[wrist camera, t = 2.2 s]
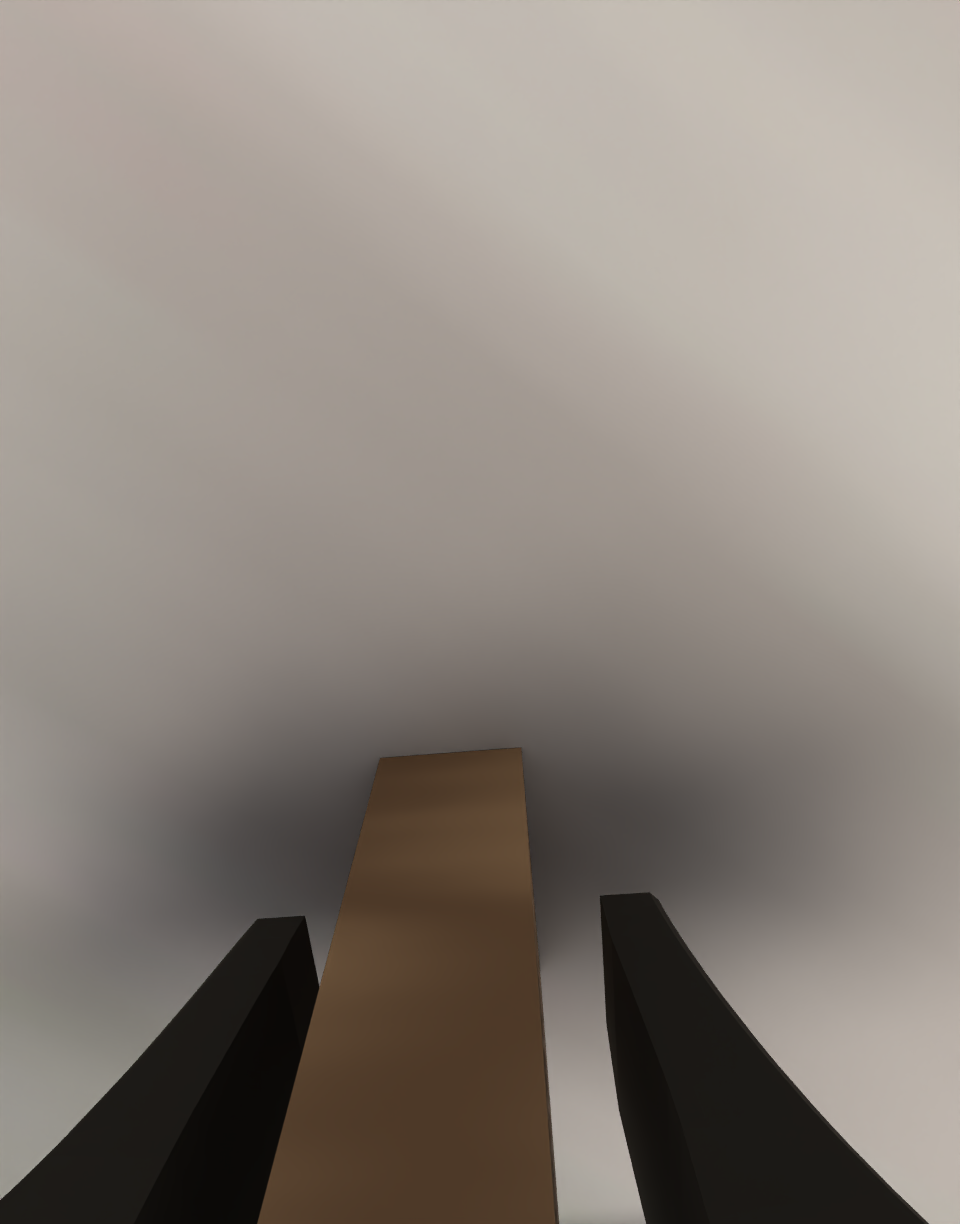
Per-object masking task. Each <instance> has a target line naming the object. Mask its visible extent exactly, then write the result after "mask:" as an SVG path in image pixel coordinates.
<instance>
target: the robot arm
mask: <svg viewBox="0 0 960 1224" xmlns="http://www.w3.org/2000/svg"><path fill="white" fill-rule="evenodd" d="M600 905H601V925H602V945H603V965H604V984H605V1004H606V1023H607V1030H608V1037H609V1044H610V1051H611V1058H612V1065H613V1072H614V1079H615V1086H616V1093H617V1099H618V1106H619V1112H620V1116H621V1120H622V1125H623V1129H624V1133H625V1137H626V1142H627V1146H628V1150H629V1154H630V1158H631V1162H632V1167H633V1171H634V1175H635V1179H636V1183H637V1187H638V1192H639V1196H640V1200H641V1204H642V1208H643V1212H644V1216H645V1221H646V1224H929V1223H928V1222H927V1221H926V1220H925V1219H923V1218H922V1217H921V1216H920V1215H919V1214H918V1213H917V1212H916V1211H915V1210H914V1209H913V1208H912V1207H911V1206H910V1205H909V1204H908V1203H907V1202H906V1201H905V1200H904V1199H903V1198H902V1197H901V1196H900V1195H899V1194H897V1193H896V1192H895V1191H894V1190H893V1189H892V1188H891V1187H890V1186H889V1185H888V1184H887V1183H886V1182H885V1181H884V1179H883V1178H882V1177H881V1176H880V1175H879V1174H878V1173H877V1172H876V1171H875V1170H874V1169H873V1168H872V1167H871V1166H870V1165H869V1164H868V1163H867V1162H866V1161H865V1160H864V1159H863V1158H862V1157H861V1156H860V1155H859V1154H858V1153H857V1152H856V1151H855V1150H854V1149H853V1148H852V1147H851V1146H850V1145H849V1144H848V1143H847V1142H846V1141H845V1139H844V1138H843V1137H842V1136H841V1135H840V1134H839V1133H838V1132H837V1131H836V1130H835V1129H834V1128H833V1127H832V1126H831V1125H830V1123H829V1122H828V1121H827V1120H826V1119H825V1118H824V1117H823V1116H822V1115H821V1114H820V1112H819V1111H818V1110H817V1109H816V1108H815V1107H814V1106H813V1105H812V1104H811V1103H810V1101H809V1100H808V1099H807V1098H806V1097H805V1096H804V1094H803V1093H802V1092H801V1091H800V1090H799V1089H798V1088H797V1086H796V1085H795V1084H794V1083H793V1082H792V1081H791V1080H790V1078H789V1077H788V1076H787V1075H786V1074H785V1073H784V1072H783V1070H782V1069H781V1068H780V1067H779V1066H778V1065H777V1063H776V1062H775V1061H774V1060H773V1059H772V1057H771V1056H770V1055H769V1054H768V1053H767V1051H766V1050H765V1049H764V1048H763V1046H762V1045H761V1044H760V1043H759V1042H758V1040H757V1039H756V1038H755V1037H754V1035H753V1034H752V1033H751V1032H750V1030H749V1029H748V1028H747V1026H746V1025H745V1024H744V1023H743V1021H742V1020H741V1019H740V1017H739V1016H738V1015H737V1014H736V1012H735V1011H734V1010H733V1009H732V1007H731V1006H730V1005H729V1003H728V1002H727V1001H726V1000H725V998H724V997H723V996H722V994H721V993H720V992H719V990H718V989H717V988H716V986H715V985H714V984H713V982H712V981H711V980H710V978H709V977H708V975H707V974H706V973H705V971H704V970H703V968H702V967H701V965H700V964H699V963H698V961H697V960H696V958H695V957H694V955H693V954H692V953H691V951H690V950H689V948H688V947H687V945H686V944H685V942H684V941H683V939H682V938H681V936H680V935H679V933H678V932H677V930H676V929H675V927H674V925H673V924H672V922H671V921H670V919H669V917H668V916H667V914H666V912H665V911H664V909H663V907H662V905H661V904H660V902H659V900H658V899H657V898H656V897H654V896H653V895H652V894H651V893H650V892H649V893H634V894H620V895H605V896H600ZM318 991H319V983H318V978H317V973H316V968H315V963H314V958H313V953H312V948H311V943H310V938H309V933H308V928H307V924H306V919H305V916H294V917H279V918H265V919H257V920H256V921H255V923H254V924H253V925H252V926H251V927H250V928H249V929H248V930H247V932H246V933H245V934H244V935H243V936H242V937H241V939H240V940H239V941H238V942H237V943H236V944H235V946H234V947H233V948H232V949H231V950H230V952H229V953H228V954H227V955H226V956H225V958H224V959H223V960H222V961H221V962H220V964H219V965H218V966H217V967H216V969H215V970H214V971H213V972H212V973H211V975H210V976H209V977H208V978H207V979H206V981H205V982H204V983H203V984H202V985H201V986H200V988H199V989H198V990H197V991H196V992H195V994H194V995H193V996H192V997H191V998H190V1000H189V1001H188V1002H187V1003H186V1004H185V1006H184V1007H183V1008H182V1009H181V1010H180V1011H179V1013H178V1014H177V1015H176V1016H175V1017H174V1018H173V1019H172V1021H171V1022H170V1023H169V1024H168V1025H167V1026H166V1027H165V1029H164V1030H163V1031H162V1032H161V1033H160V1034H159V1036H158V1037H157V1038H156V1039H155V1040H154V1041H153V1042H152V1044H151V1045H150V1046H149V1047H148V1048H147V1049H146V1050H145V1052H144V1053H143V1054H142V1055H141V1056H140V1057H139V1058H138V1060H137V1061H136V1062H135V1063H134V1064H133V1065H132V1066H131V1067H130V1069H129V1070H128V1071H127V1072H126V1073H125V1074H124V1075H123V1076H122V1077H121V1078H120V1079H119V1080H118V1082H117V1083H116V1084H115V1085H114V1086H113V1087H112V1088H111V1089H110V1090H109V1091H108V1092H107V1093H106V1094H105V1095H104V1096H103V1097H102V1099H101V1100H100V1101H99V1102H98V1103H97V1104H96V1105H95V1106H94V1107H93V1108H92V1109H91V1110H90V1111H89V1112H88V1113H87V1114H86V1116H85V1117H84V1118H83V1119H82V1120H81V1121H80V1122H79V1123H78V1124H77V1125H76V1126H75V1127H74V1128H73V1129H72V1130H71V1131H70V1132H69V1134H68V1135H67V1136H66V1137H65V1138H64V1139H63V1140H62V1141H61V1142H60V1143H59V1144H58V1145H57V1146H56V1147H55V1148H54V1149H53V1150H52V1151H51V1152H50V1153H49V1154H48V1155H47V1156H46V1157H45V1158H44V1159H43V1160H42V1161H41V1162H40V1163H39V1164H38V1165H37V1166H36V1167H35V1168H34V1169H33V1170H32V1171H31V1172H30V1173H29V1174H28V1175H27V1176H26V1177H24V1178H23V1179H22V1180H21V1181H20V1182H19V1183H18V1184H17V1185H16V1186H15V1187H14V1188H13V1189H12V1190H11V1191H10V1192H9V1193H7V1194H6V1195H5V1196H4V1197H3V1198H2V1199H1V1200H0V1224H257V1223H258V1219H259V1215H260V1211H261V1208H262V1204H263V1200H264V1196H265V1192H266V1189H267V1185H268V1181H269V1177H270V1173H271V1170H272V1166H273V1162H274V1158H275V1154H276V1151H277V1147H278V1143H279V1139H280V1135H281V1132H282V1128H283V1124H284V1120H285V1117H286V1113H287V1109H288V1105H289V1101H290V1098H291V1094H292V1090H293V1086H294V1082H295V1079H296V1075H297V1071H298V1067H299V1063H300V1060H301V1056H302V1052H303V1048H304V1044H305V1041H306V1037H307V1033H308V1029H309V1026H310V1022H311V1018H312V1014H313V1010H314V1007H315V1003H316V999H317V995H318Z"/></svg>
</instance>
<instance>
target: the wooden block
mask: <svg viewBox="0 0 960 1224" xmlns="http://www.w3.org/2000/svg"><path fill="white" fill-rule="evenodd" d="M257 1224H559V1215H558V1201H557V1188H556V1175H555V1162H554V1149H553V1136H552V1122H551V1109H550V1096H549V1083H548V1070H547V1056H546V1043H545V1030H544V1017H543V1004H542V990H541V977H540V965H539V953H538V941H537V929H536V917H535V906H534V894H533V882H532V870H531V858H530V846H529V834H528V823H527V811H526V799H525V787H524V775H523V763H522V751H521V748H509V749H496V750H482V751H469V752H455V753H442V754H429V755H415V756H402V757H388V758H380V760H379V764H378V768H377V771H376V775H375V779H374V783H373V787H372V790H371V794H370V798H369V802H368V806H367V809H366V813H365V817H364V821H363V825H362V828H361V832H360V836H359V840H358V843H357V847H356V851H355V855H354V859H353V862H352V866H351V870H350V874H349V878H348V881H347V885H346V889H345V893H344V897H343V900H342V904H341V908H340V912H339V916H338V919H337V923H336V927H335V931H334V934H333V938H332V942H331V946H330V950H329V953H328V957H327V961H326V965H325V969H324V972H323V976H322V980H321V984H320V988H319V991H318V995H317V999H316V1003H315V1007H314V1010H313V1014H312V1018H311V1022H310V1026H309V1029H308V1033H307V1037H306V1041H305V1044H304V1048H303V1052H302V1056H301V1060H300V1063H299V1067H298V1071H297V1075H296V1079H295V1082H294V1086H293V1090H292V1094H291V1098H290V1101H289V1105H288V1109H287V1113H286V1117H285V1120H284V1124H283V1128H282V1132H281V1135H280V1139H279V1143H278V1147H277V1151H276V1154H275V1158H274V1162H273V1166H272V1170H271V1173H270V1177H269V1181H268V1185H267V1189H266V1192H265V1196H264V1200H263V1204H262V1208H261V1211H260V1215H259V1219H258V1223H257Z"/></svg>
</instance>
